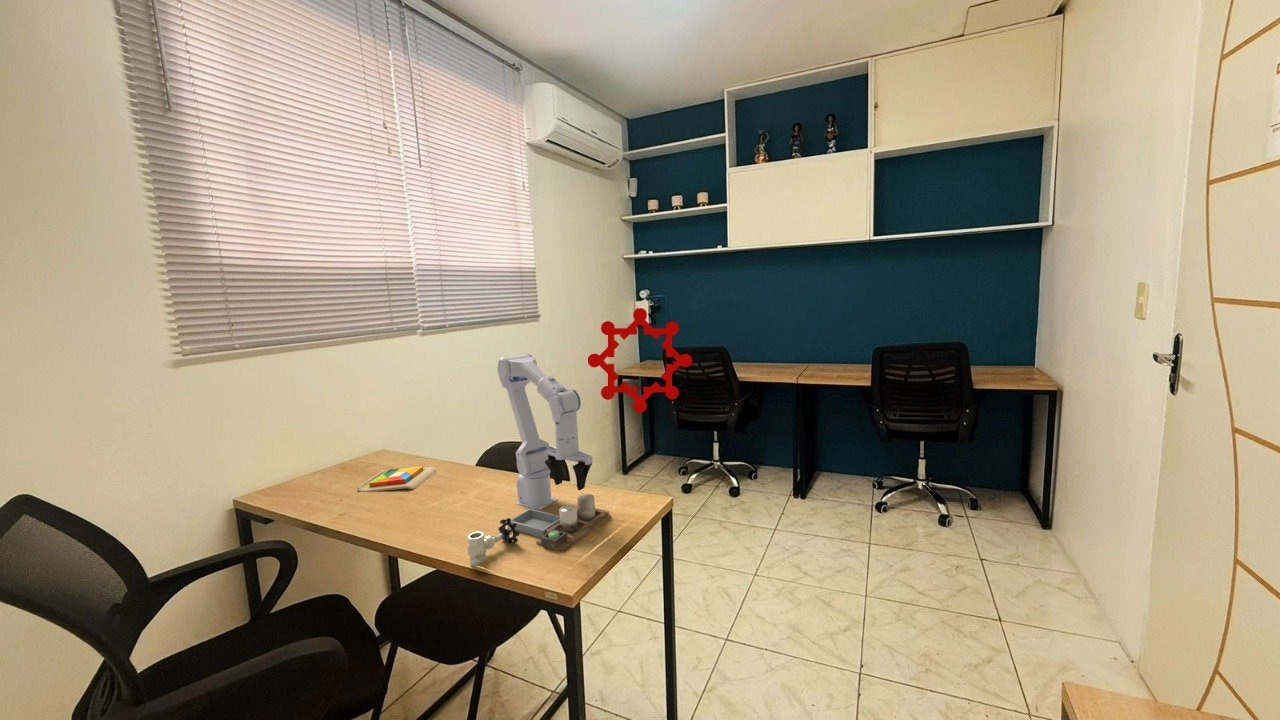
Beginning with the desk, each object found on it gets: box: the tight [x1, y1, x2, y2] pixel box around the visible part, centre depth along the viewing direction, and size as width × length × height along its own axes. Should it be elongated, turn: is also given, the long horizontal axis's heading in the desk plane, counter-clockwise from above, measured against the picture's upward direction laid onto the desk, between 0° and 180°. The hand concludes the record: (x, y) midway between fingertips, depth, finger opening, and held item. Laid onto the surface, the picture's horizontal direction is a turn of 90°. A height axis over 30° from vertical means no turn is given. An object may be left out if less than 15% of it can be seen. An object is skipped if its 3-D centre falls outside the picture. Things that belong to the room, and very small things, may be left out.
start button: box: [548, 531, 559, 540], centre depth 116 cm, size 3×3×2 cm
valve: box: [466, 517, 521, 567], centre depth 114 cm, size 7×7×12 cm
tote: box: [507, 508, 560, 539], centre depth 126 cm, size 12×8×2 cm
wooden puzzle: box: [357, 465, 437, 493], centre depth 164 cm, size 18×19×4 cm
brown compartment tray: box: [535, 493, 612, 553], centre depth 123 cm, size 8×20×7 cm, turn 150°
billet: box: [558, 504, 578, 534], centre depth 121 cm, size 4×4×6 cm
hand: (569, 486), depth 128 cm, fingers open, 7 cm apart
